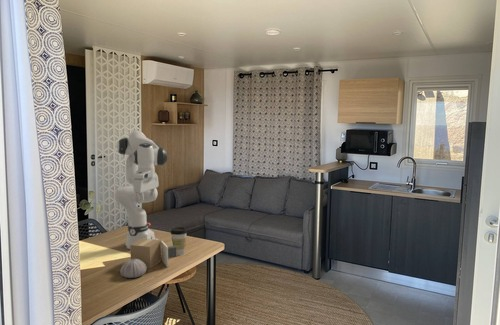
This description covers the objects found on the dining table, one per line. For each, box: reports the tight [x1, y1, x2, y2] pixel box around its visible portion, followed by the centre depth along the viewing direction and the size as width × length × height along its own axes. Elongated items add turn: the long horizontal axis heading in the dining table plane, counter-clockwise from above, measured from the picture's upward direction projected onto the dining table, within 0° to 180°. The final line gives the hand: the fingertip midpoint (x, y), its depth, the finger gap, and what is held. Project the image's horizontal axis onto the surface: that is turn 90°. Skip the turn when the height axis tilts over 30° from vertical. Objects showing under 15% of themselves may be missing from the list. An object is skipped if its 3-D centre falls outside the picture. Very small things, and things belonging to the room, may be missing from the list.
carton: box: [129, 238, 162, 269], centre depth 211 cm, size 12×12×12 cm
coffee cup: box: [170, 226, 188, 256], centre depth 226 cm, size 10×10×15 cm
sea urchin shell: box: [119, 258, 148, 279], centre depth 196 cm, size 13×14×8 cm
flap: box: [161, 240, 177, 268], centre depth 211 cm, size 12×6×11 cm, turn 27°
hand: (147, 198), depth 207 cm, fingers open, 8 cm apart
